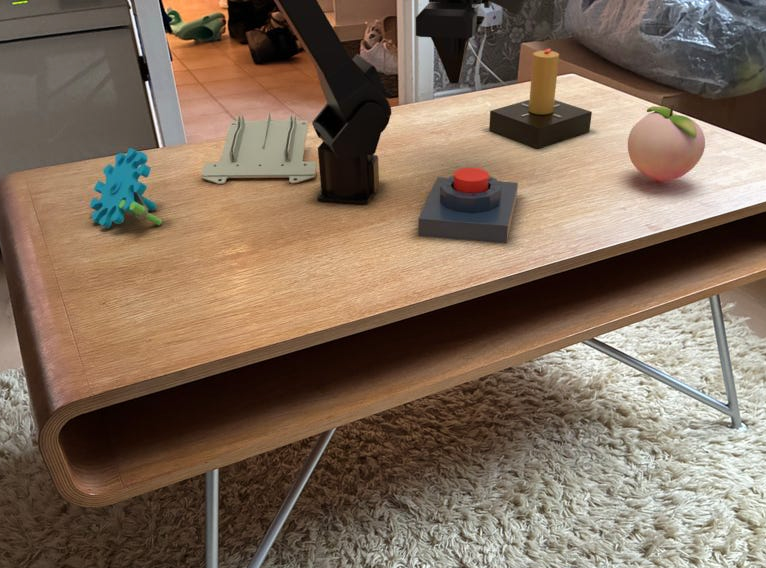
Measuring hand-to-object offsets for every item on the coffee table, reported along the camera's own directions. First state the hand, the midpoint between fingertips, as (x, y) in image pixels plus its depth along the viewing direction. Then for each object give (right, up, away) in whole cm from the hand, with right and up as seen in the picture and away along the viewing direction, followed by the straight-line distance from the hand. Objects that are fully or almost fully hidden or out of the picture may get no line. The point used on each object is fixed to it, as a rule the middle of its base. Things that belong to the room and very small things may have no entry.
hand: (454, 82), depth 93 cm
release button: (+2, -14, -5) cm, 15 cm away
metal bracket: (-25, -7, +12) cm, 29 cm away
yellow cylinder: (+14, +3, +18) cm, 23 cm away
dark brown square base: (+14, 0, +20) cm, 25 cm away
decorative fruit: (+26, -12, +4) cm, 29 cm away
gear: (-39, -17, -2) cm, 43 cm away
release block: (+2, -17, -3) cm, 17 cm away
